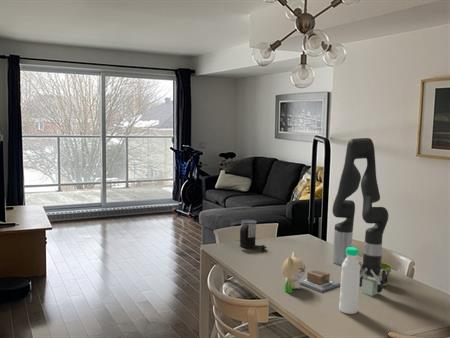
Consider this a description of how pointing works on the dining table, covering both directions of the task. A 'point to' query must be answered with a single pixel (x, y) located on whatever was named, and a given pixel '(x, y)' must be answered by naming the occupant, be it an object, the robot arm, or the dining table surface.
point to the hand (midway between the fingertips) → (369, 289)
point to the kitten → (293, 272)
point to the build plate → (316, 287)
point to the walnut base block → (318, 277)
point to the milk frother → (249, 234)
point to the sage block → (369, 286)
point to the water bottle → (350, 282)
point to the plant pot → (384, 266)
